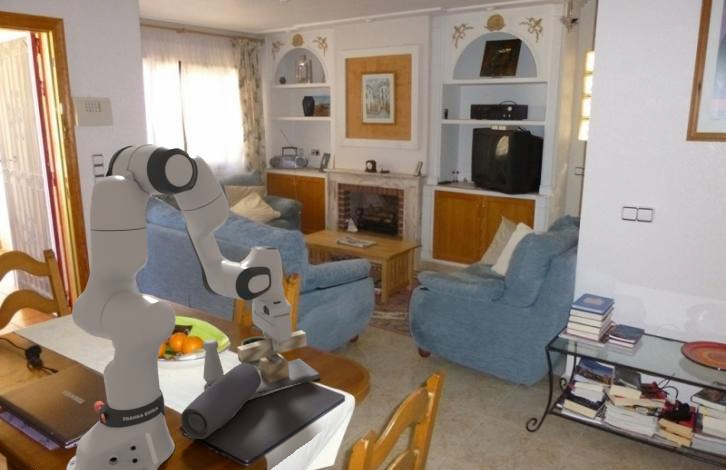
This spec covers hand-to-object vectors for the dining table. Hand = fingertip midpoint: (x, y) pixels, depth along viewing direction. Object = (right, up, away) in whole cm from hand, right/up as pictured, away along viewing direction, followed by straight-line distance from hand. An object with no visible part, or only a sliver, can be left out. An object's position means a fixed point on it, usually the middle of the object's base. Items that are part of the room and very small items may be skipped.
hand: (272, 347), depth 157 cm
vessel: (-8, -8, +16) cm, 20 cm away
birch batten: (0, -2, +1) cm, 2 cm away
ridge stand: (+1, -10, +2) cm, 10 cm away
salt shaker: (-17, -11, +2) cm, 21 cm away
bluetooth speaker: (-9, -14, -18) cm, 25 cm away
